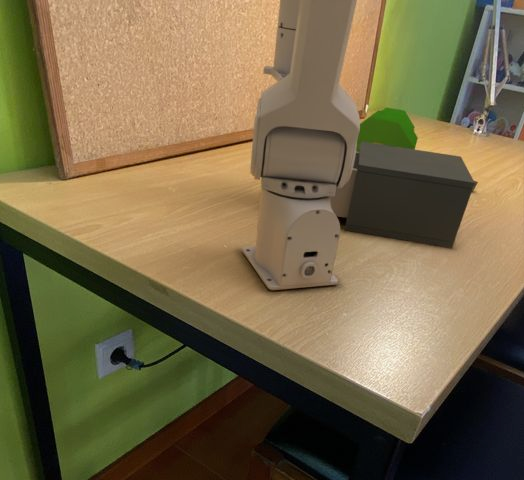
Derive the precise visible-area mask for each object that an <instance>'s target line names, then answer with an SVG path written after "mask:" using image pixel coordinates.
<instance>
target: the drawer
mask: <svg viewBox="0 0 524 480" xmlns="http://www.w3.org/2000/svg"><path fill="white" fill-rule="evenodd" d="M358 159H359V152H358V151H356V155H355V161H354V166H353V170H352V173H351V176H350V179H349V181H348V182H347V183H346V184H345V185H344V186H343V187H342V188H336V192H335V196H334V197H331V207H332V210H333V212H334V214H335V215H336V217H337V218H338V217H339V218H344V219H346V218H347V216H348V212H349V207H350V202H351V197H352V193H353V188H354V183H355V178H356V174H357V169H358Z"/></svg>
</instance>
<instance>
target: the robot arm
mask: <svg viewBox="0 0 524 480" xmlns="http://www.w3.org/2000/svg"><path fill="white" fill-rule="evenodd" d="M357 2H358V0H279V10H278V17H277V29H276V38H275V47H274V60H273V66H269V65H266V66H264V67H263V71H262V73H263V74H264V75H270V76H271V77H272V78H273V79H274V80H276V82H275V83H273V84H272V85H270V86H269V87H267V88H266V89H264V90H263V91H262V92H261V93H260V97H259V98H258V99H257V105H256V115H255V116H254V123H253V133H252V145H251V154H250V155H251V156H250V158H251V159H250V171H249V172H250V174H251V176H252V177H253V179H254V180H256V181H260V197H259V205H258V214H257V215H258V216H257V217H258V218H257V225H256V234H255V235H256V236H255V245H252V246H251V245H250V246H243V247H242V250H241V251H242V253H243V255H244V256H245V257H246V258H247V260H248V262H249V264H250V265H251V266H252V267H253V269H254V270H255V272H256V273H257V275H258V276H259V277H260V279H261V280H262V282H263V284H264V285H265V286H266V287H267V289H269V290H270V291H279V290H289V289H292V290H293V289H302V288H312V287H323V286H335V285H337V284H338V282H339V279H338V278H337V277H336V276H335V275H334V274H333V271H334V266H335V262H336V257H337V252H338V249H339V241H340V237H341V223H340V220H339V218H338V216H336V215H335V214H334V212H333V210H332V207H331V197H334V196H335V192H336V188H342V187H343V186H344V185H345V184H346V183H347V182H348V181H349V179H350V176H351V173H352V170H353V166H354V161H355V155H356V147H357V139H358V135H359V131H360V123H361V120H360V119H361V117H360V113H359V110H358V109H359V108H358V105H357V103H356V102H355V100H354V99H353V98H352V97H351V96H350V95H349V94H348V93H347V92H346V91H345V89H344V87H342V86H341V84H340V79H341V75H342V71H343V65H344V62H345V61H344V60H345V57H346V52H347V47H348V44H349V39H350V34H351V29H352V25H353V20H354V15H355V10H356V6H357Z"/></svg>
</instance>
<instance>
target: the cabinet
mask: <svg viewBox="0 0 524 480" xmlns="http://www.w3.org/2000/svg"><path fill="white" fill-rule="evenodd" d="M474 181H475V180H474V178H473V176H472V174H471V172H470V171H469V169H468V167H467V165H466V164H465V161H464V160H463V158H462V156H460V155H453V154H447V153H441V152H434V151H426V150H420V149H416V148H415V149H408V148H401V147H395V146H388V145H382V144H375V143H369V142H362V141H361V142H360V147H359V159H358V169H357V174H356V178H355V183H354V188H353V193H352V197H351V202H350V207H349V212H348V216H347V218H345V225H344V231H348V232H354V233H359V234H364V235H365V234H367V235H372V236H376V237H377V236H378V237H383V238H390V239H396V240H402V241H408V242H413V243H419V244H426V245H430V246H431V245H432V246H437V247H443V248H449V249H453V246H454V243H455V241H456V238H457V235H458V232H459V229H460V228H461V227H460V226H461V223H462V221H463V218H464V215H465V212H466V209H467V206H468V204H469V201H470V198H471V195H472V193H473V192H472V190H473V187H474V184H475V182H474Z"/></svg>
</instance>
